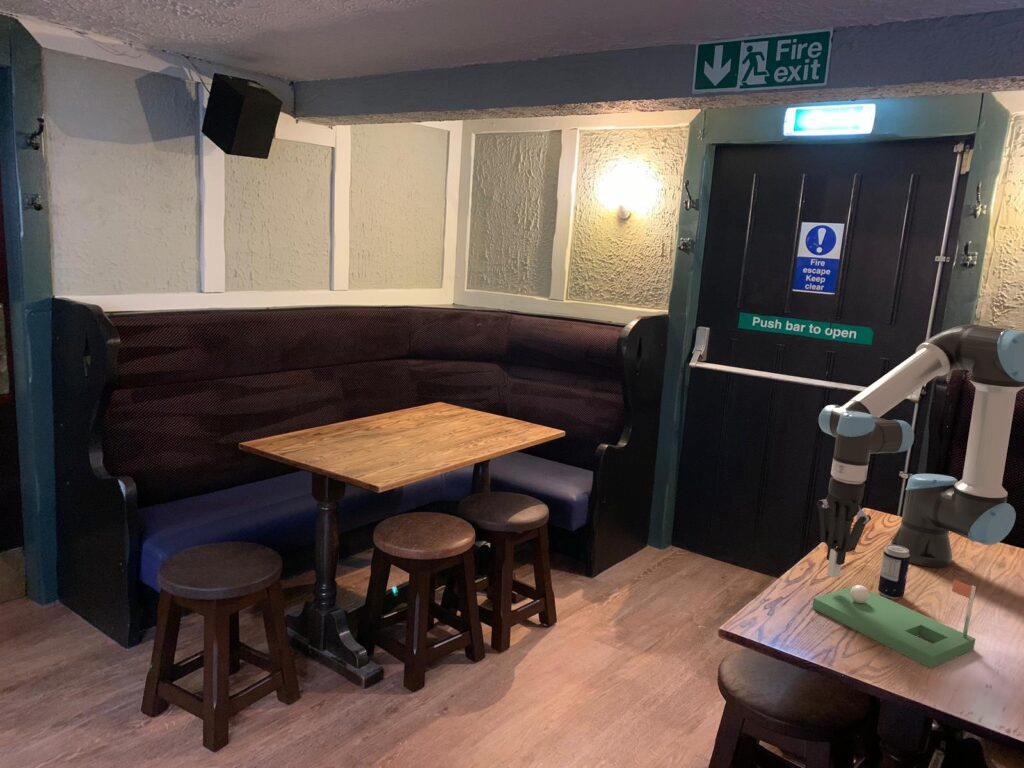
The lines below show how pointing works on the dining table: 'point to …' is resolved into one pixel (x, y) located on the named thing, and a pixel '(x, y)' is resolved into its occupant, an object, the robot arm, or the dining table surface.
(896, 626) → the putting mat
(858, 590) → the ball
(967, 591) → the flag pin
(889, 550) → the beverage can
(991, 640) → the dining table surface
